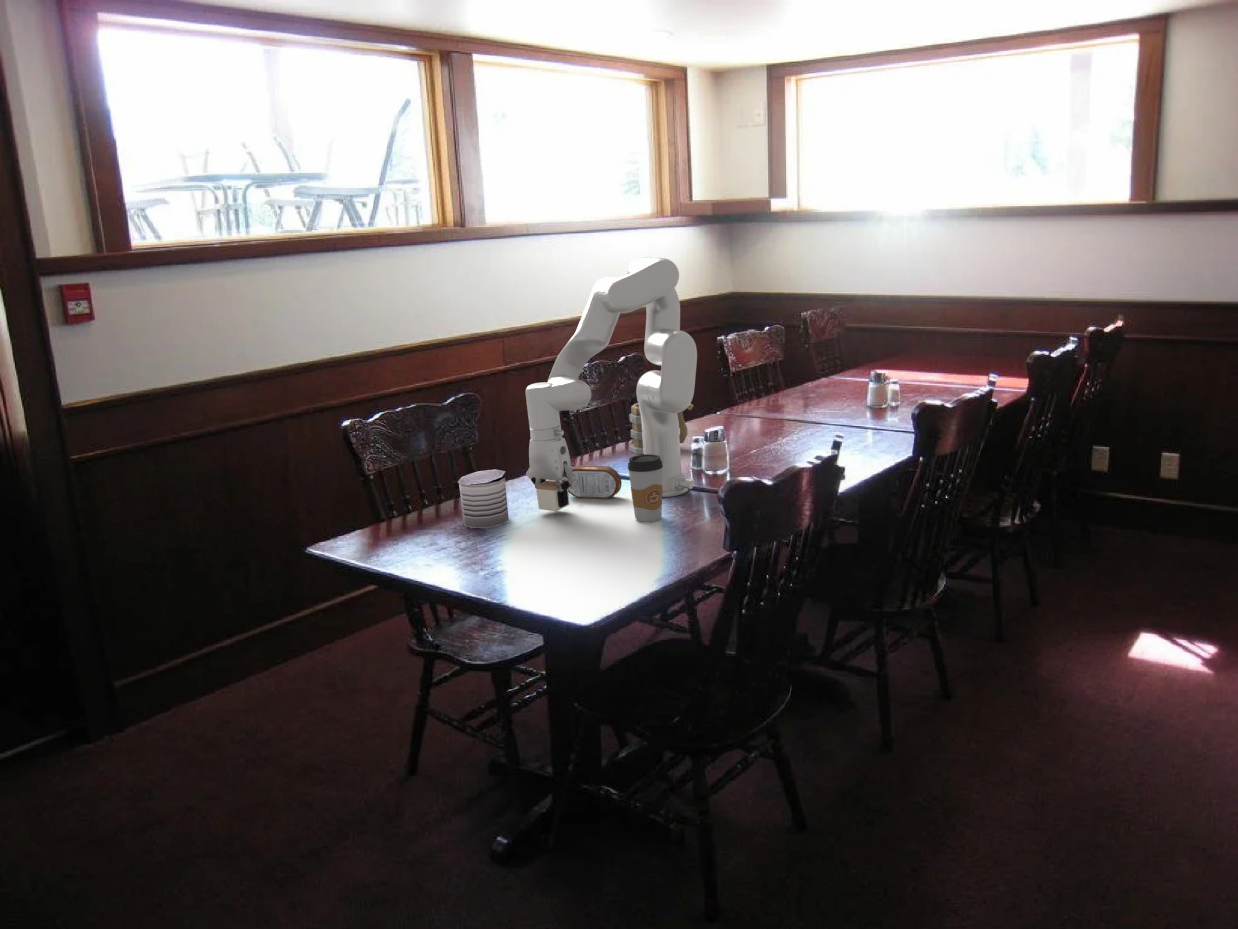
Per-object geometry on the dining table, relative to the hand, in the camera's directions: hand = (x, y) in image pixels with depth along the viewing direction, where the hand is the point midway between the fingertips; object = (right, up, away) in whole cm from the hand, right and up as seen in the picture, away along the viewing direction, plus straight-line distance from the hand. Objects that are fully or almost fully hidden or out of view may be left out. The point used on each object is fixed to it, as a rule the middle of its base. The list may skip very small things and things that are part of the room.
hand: (553, 503), depth 264 cm
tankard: (+29, +14, +59) cm, 67 cm away
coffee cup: (+23, -3, -10) cm, 25 cm away
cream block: (0, -1, 0) cm, 1 cm away
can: (-16, -5, -3) cm, 17 cm away
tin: (+10, +1, +12) cm, 16 cm away
